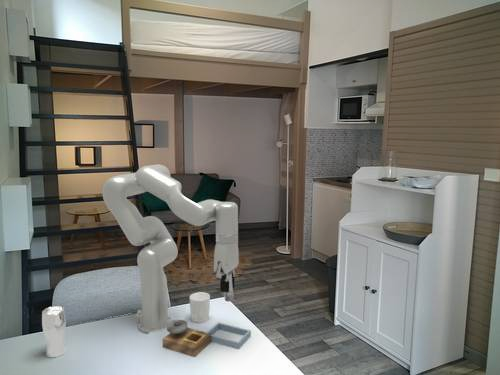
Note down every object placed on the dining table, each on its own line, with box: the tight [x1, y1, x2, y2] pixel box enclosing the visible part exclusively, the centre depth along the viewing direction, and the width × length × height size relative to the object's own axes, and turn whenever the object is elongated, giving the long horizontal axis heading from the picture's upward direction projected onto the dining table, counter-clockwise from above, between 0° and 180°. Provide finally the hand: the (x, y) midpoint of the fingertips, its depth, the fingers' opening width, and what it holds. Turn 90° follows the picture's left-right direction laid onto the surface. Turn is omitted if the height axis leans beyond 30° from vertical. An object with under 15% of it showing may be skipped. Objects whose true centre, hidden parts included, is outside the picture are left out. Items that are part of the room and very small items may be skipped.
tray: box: [206, 322, 252, 350], centre depth 138 cm, size 13×9×3 cm
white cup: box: [189, 291, 211, 323], centre depth 152 cm, size 8×8×10 cm
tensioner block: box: [161, 319, 212, 358], centre depth 133 cm, size 14×10×8 cm
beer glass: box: [41, 305, 67, 359], centre depth 129 cm, size 7×7×15 cm
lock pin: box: [222, 270, 234, 302], centre depth 135 cm, size 4×4×11 cm
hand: (227, 289), depth 135 cm, fingers closed on lock pin, 3 cm apart
